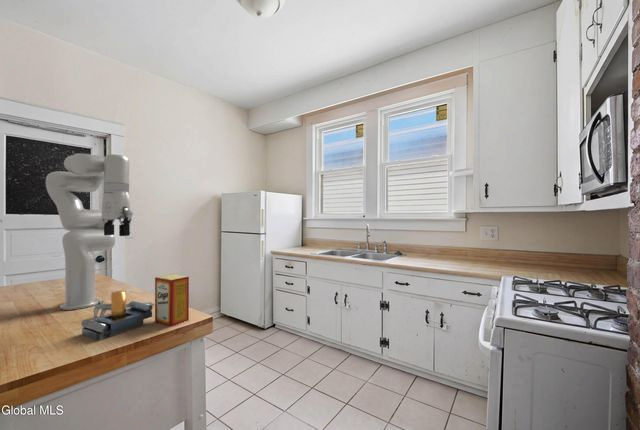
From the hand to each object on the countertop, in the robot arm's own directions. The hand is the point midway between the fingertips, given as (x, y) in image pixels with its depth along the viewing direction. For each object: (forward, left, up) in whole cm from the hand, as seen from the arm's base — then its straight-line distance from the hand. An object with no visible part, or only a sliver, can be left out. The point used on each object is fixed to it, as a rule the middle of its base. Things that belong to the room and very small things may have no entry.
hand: (116, 235), depth 102 cm
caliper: (-5, +6, -31) cm, 32 cm away
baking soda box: (+21, +7, -31) cm, 38 cm away
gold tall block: (+11, -5, -30) cm, 33 cm away
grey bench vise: (+11, -5, -30) cm, 33 cm away
